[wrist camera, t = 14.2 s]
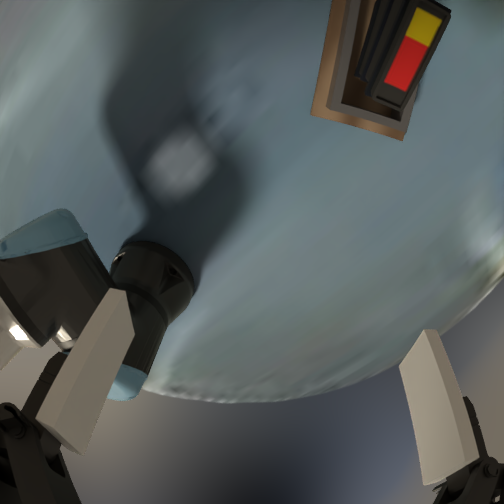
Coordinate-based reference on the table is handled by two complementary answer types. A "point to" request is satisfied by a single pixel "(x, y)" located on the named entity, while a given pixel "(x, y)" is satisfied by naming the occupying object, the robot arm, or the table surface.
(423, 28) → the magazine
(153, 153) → the table surface
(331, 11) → the board
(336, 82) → the cradle
